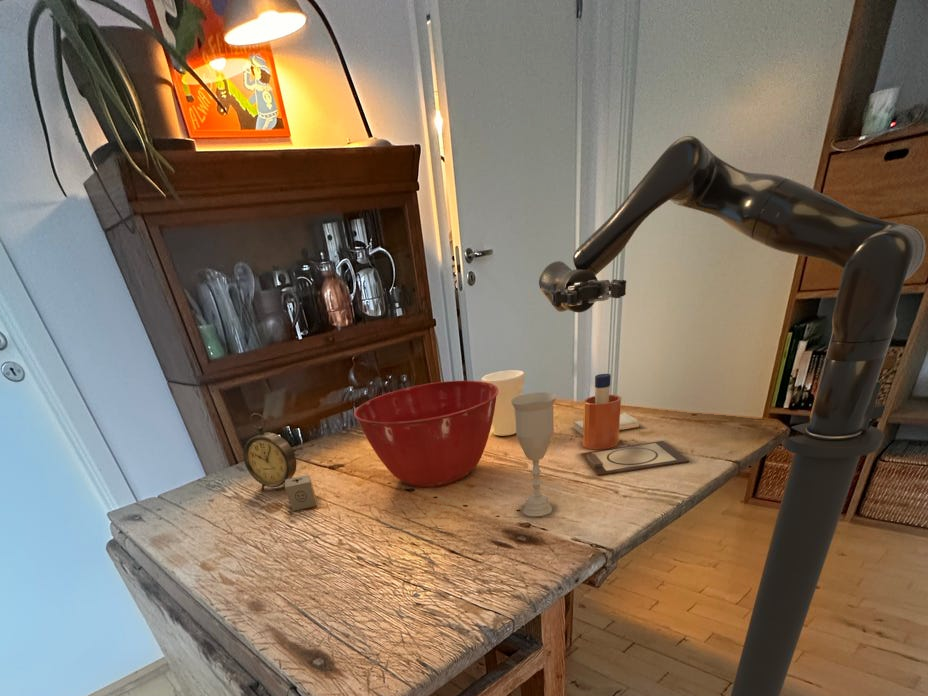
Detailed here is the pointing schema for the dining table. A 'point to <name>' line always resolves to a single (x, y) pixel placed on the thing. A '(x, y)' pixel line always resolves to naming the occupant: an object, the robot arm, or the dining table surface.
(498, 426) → the cup
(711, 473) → the dining table surface
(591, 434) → the pen cup
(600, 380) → the marker
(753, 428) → the dining table surface
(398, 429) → the mixing bowl
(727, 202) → the robot arm
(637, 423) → the hard drive
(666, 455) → the brown tray
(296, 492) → the grey cube
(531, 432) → the chalice
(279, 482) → the alarm clock
